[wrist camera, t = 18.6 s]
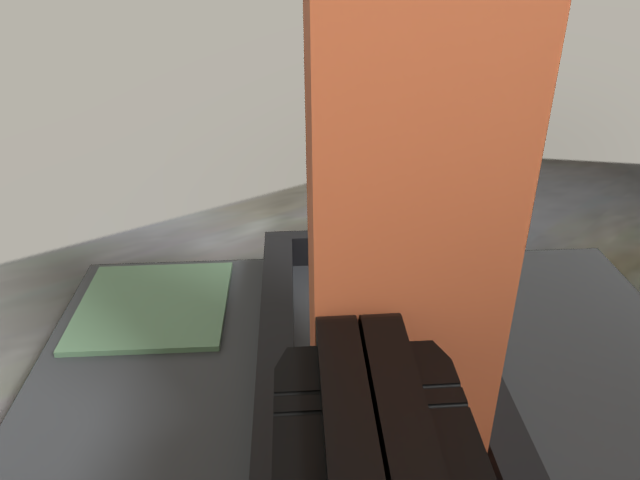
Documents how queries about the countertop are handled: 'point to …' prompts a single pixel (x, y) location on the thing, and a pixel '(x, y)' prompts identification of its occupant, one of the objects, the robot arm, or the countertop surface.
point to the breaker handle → (428, 166)
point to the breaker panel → (294, 331)
